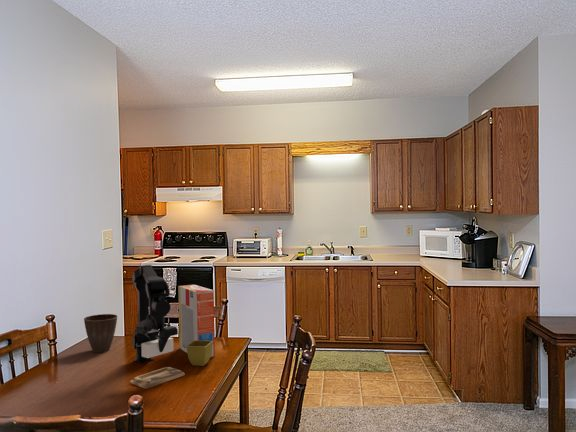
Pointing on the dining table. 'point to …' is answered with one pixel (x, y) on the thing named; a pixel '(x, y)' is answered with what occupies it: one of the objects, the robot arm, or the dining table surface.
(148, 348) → the door
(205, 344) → the flower pot
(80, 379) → the dining table surface
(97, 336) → the plant pot
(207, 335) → the pasta box
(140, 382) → the beige rectangular tray
